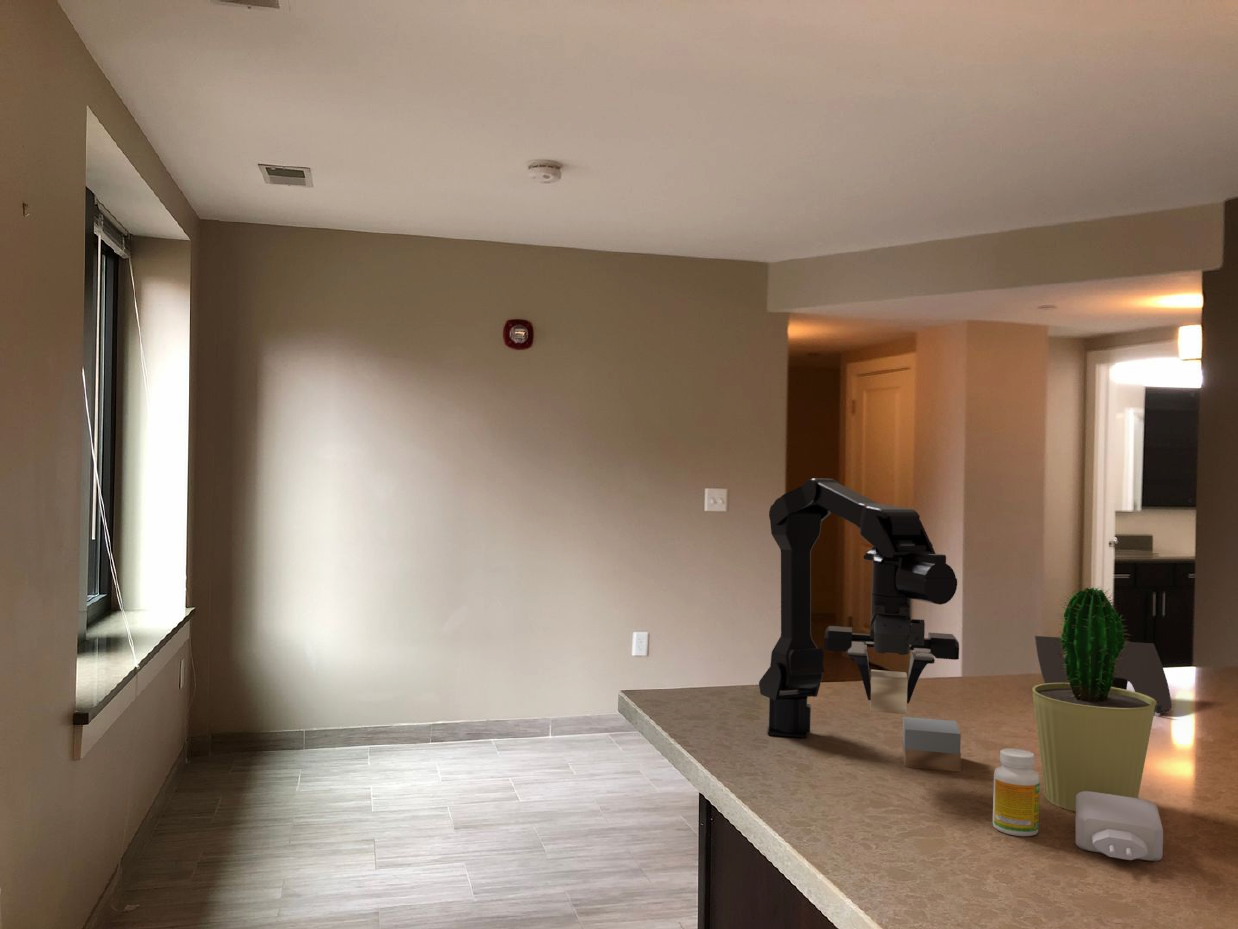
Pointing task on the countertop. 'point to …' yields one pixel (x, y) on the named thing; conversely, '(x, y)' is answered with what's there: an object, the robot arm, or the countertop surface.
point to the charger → (1118, 826)
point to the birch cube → (888, 692)
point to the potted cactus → (1091, 710)
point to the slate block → (931, 735)
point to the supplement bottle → (1016, 794)
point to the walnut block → (931, 759)
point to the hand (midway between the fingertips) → (888, 701)
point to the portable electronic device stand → (1136, 668)
